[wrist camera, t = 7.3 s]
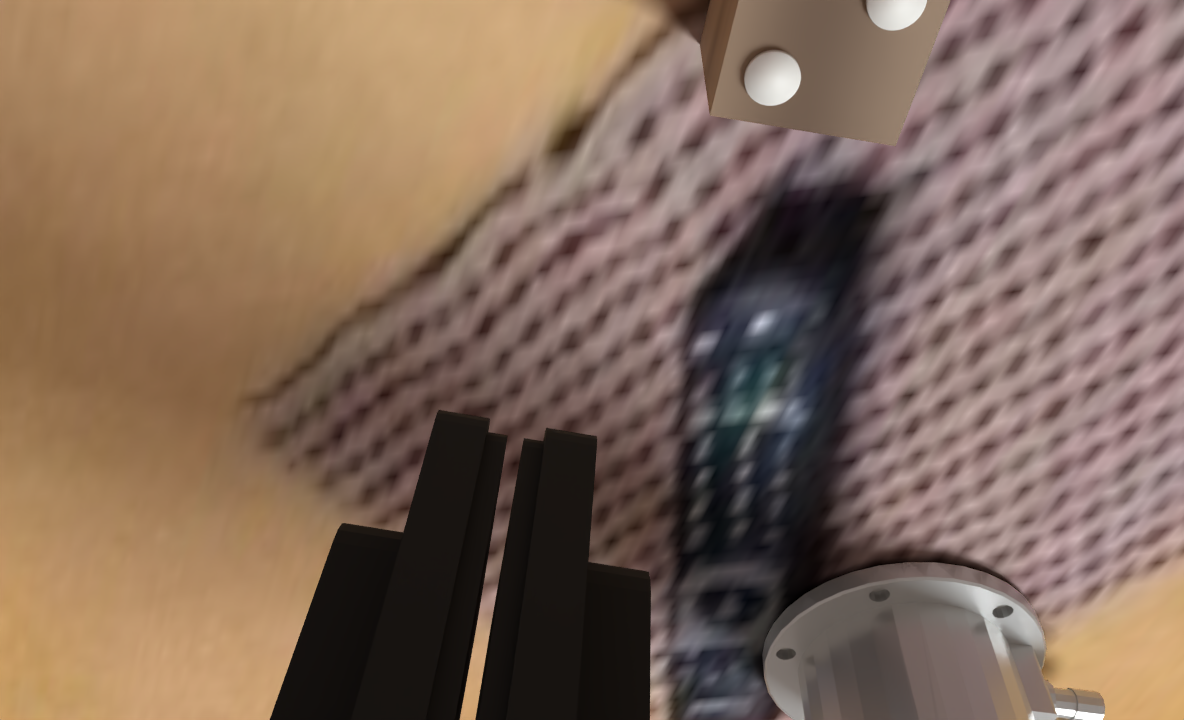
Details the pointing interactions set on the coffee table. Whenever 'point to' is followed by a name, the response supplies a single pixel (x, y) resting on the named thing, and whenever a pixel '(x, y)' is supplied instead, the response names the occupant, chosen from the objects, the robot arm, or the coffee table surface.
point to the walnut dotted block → (819, 63)
